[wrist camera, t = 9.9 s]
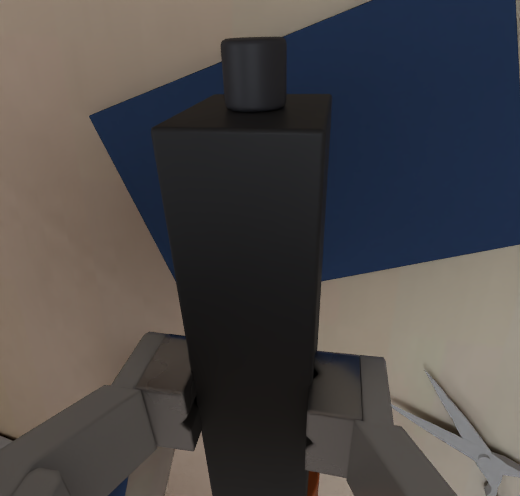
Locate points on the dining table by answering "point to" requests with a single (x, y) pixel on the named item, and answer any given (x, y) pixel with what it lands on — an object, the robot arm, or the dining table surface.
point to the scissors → (468, 443)
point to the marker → (249, 263)
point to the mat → (380, 131)
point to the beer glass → (148, 476)
